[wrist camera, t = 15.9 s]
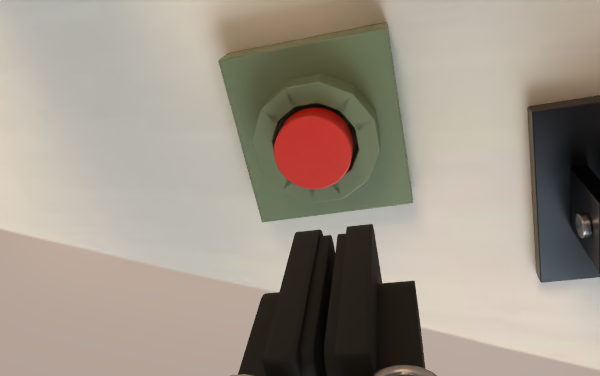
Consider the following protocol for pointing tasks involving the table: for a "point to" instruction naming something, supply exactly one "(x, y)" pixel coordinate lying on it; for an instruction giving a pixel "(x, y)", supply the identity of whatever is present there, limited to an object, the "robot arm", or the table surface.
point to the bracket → (566, 188)
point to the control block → (329, 95)
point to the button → (314, 148)
